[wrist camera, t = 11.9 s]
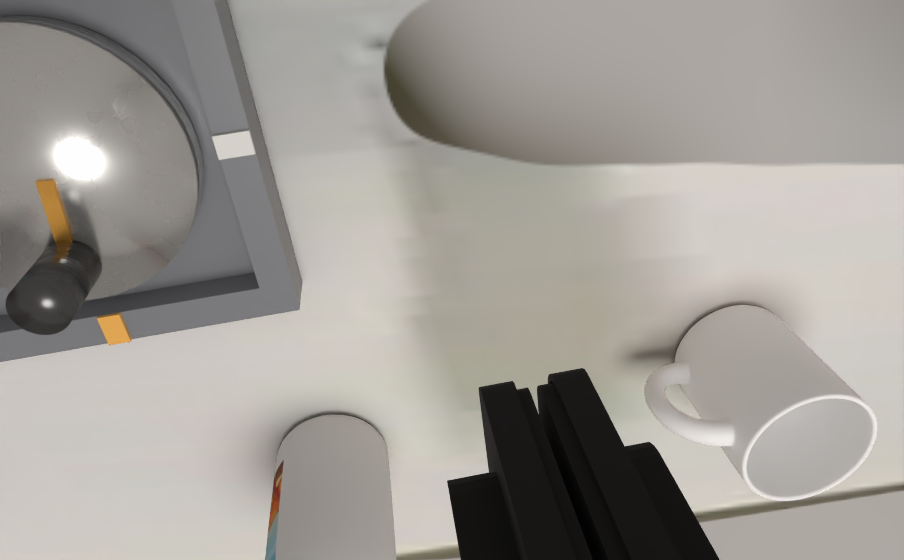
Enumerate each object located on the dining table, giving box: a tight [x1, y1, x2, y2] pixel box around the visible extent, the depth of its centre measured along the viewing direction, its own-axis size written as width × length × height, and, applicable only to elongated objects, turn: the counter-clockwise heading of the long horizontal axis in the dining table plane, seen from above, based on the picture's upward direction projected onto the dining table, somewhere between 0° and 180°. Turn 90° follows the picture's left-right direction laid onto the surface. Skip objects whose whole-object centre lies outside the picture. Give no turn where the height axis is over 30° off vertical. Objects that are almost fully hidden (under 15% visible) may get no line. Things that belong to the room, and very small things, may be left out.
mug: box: [644, 305, 878, 501], centre depth 44 cm, size 12×8×10 cm
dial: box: [0, 16, 204, 335], centre depth 32 cm, size 14×14×6 cm
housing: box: [0, 0, 302, 362], centre depth 35 cm, size 20×20×3 cm
